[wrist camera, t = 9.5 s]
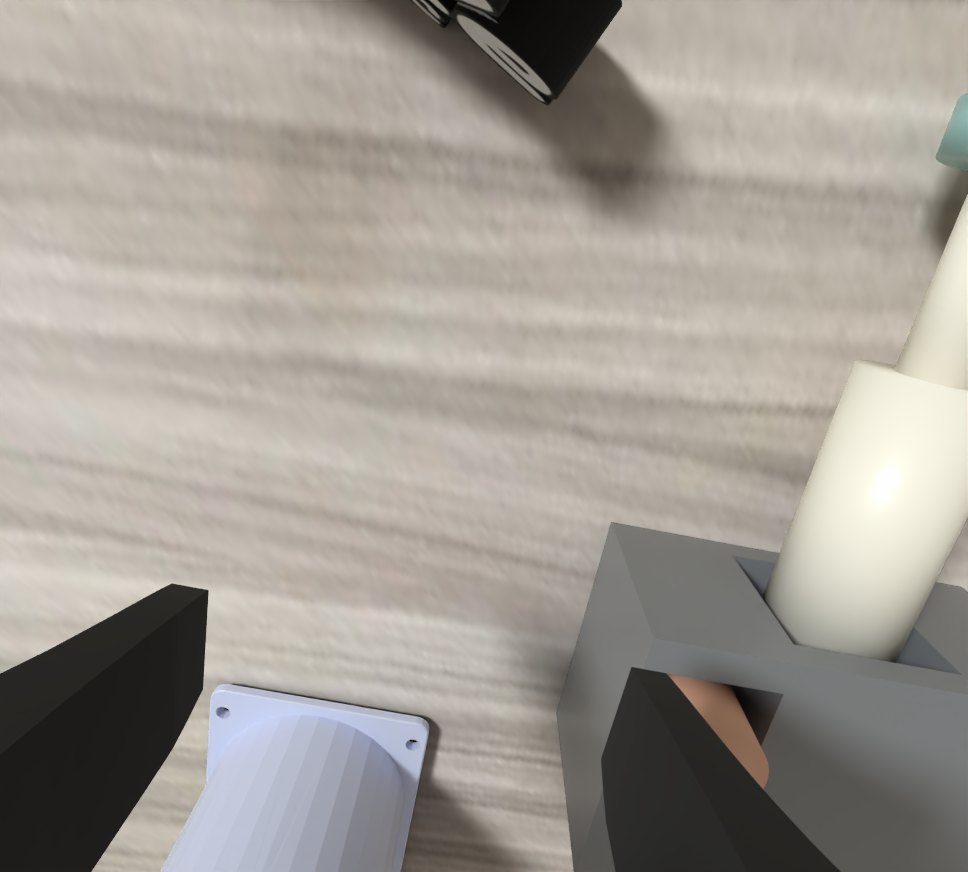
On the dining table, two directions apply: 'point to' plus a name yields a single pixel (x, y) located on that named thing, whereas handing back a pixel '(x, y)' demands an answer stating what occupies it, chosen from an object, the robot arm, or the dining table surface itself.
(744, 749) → the plunger
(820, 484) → the push handle
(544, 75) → the logo
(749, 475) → the dining table surface
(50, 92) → the dining table surface
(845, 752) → the housing
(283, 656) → the dining table surface
